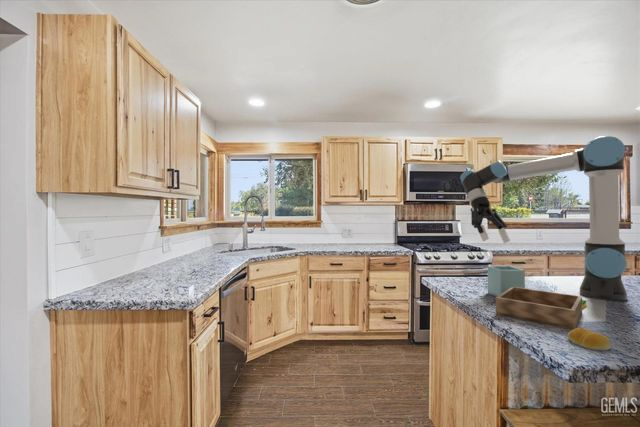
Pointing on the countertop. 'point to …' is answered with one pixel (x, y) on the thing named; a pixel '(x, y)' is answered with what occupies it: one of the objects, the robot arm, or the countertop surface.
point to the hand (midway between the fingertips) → (496, 241)
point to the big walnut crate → (540, 307)
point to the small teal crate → (504, 279)
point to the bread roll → (589, 339)
